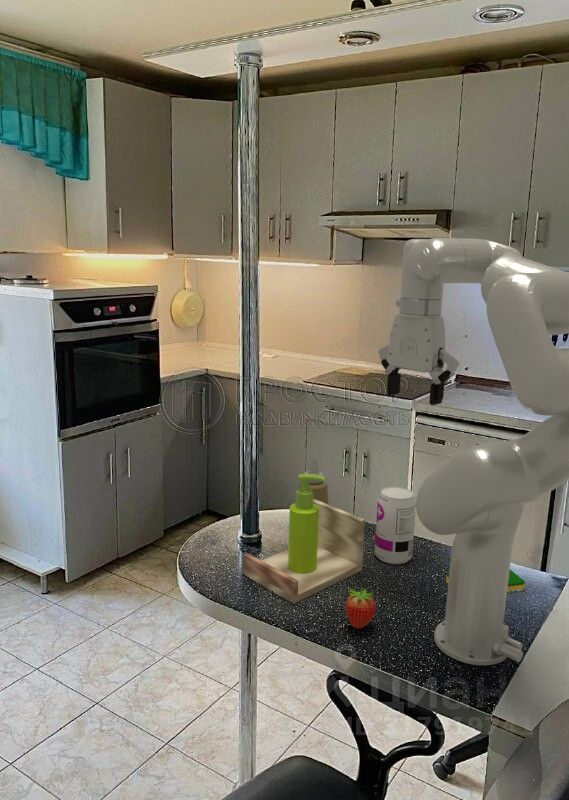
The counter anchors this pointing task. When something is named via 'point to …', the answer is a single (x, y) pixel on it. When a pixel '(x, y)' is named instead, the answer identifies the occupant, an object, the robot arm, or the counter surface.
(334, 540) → the wooden holder
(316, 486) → the squeeze bottle
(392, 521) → the supplement can
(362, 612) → the fruit
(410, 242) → the robot arm
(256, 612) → the counter surface
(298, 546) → the soap dispenser
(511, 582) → the dish sponge
